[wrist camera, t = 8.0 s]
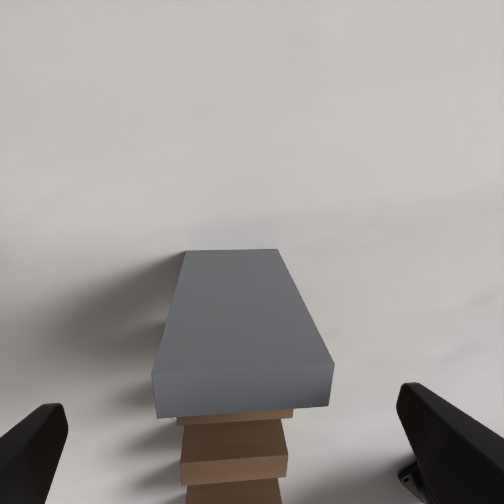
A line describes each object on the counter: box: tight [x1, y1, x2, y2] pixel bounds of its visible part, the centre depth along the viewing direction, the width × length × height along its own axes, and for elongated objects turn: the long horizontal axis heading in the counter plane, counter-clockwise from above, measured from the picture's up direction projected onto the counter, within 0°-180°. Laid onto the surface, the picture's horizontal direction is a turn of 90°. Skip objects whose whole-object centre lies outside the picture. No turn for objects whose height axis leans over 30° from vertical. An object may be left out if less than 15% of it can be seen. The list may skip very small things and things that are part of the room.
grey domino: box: [151, 249, 334, 419], centre depth 13 cm, size 2×5×9 cm, turn 89°
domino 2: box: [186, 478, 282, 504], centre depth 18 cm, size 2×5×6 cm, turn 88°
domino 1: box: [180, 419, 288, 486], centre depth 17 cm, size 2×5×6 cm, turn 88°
